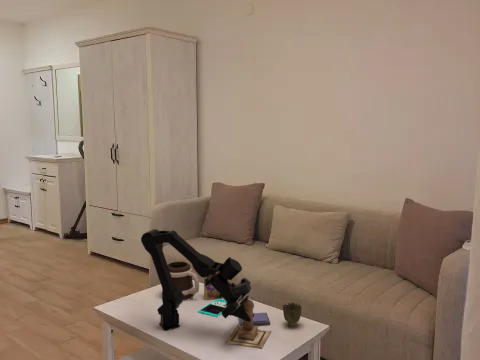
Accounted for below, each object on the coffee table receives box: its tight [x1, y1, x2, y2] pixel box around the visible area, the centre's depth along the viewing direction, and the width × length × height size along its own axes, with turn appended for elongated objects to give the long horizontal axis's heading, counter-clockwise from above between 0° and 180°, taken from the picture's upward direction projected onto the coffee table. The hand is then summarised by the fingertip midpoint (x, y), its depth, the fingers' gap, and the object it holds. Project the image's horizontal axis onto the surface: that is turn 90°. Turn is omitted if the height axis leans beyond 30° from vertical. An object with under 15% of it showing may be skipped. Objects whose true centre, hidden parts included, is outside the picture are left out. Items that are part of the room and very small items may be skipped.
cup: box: [282, 302, 303, 328], centre depth 169 cm, size 8×7×8 cm
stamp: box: [238, 298, 259, 341], centre depth 159 cm, size 6×6×14 cm
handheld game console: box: [197, 298, 227, 318], centre depth 187 cm, size 10×16×1 cm, turn 150°
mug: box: [167, 261, 200, 301], centre depth 199 cm, size 20×15×15 cm
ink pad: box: [237, 312, 271, 327], centre depth 174 cm, size 12×9×2 cm
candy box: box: [203, 271, 223, 301], centre depth 197 cm, size 9×4×15 cm, turn 103°
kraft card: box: [224, 325, 272, 350], centre depth 160 cm, size 14×13×1 cm
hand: (251, 318), depth 159 cm, fingers open, 4 cm apart
